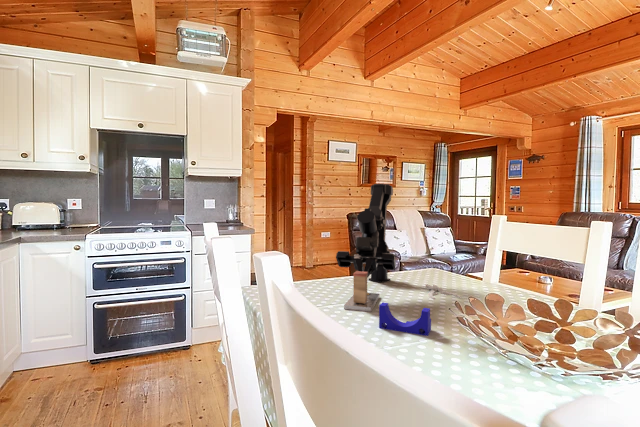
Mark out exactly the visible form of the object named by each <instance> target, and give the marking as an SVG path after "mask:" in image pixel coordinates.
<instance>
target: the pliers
mask: <svg viewBox="0 0 640 427" xmlns="http://www.w3.org/2000/svg"><path fill="white" fill-rule="evenodd" d="M425 288H426V289H427V290H428V291H429V292H428V293H427V295H428V297H429V298H431V299H433V300H436V297H434V296H436V295H438V293H440V295H441V294H442V295H447V296H448V295H449V296H453V297H456V298H458V299H462V297H461V296H460V295H459V294H457V293H453V292H451V291H445V290H443V289H442V287H439V286H437V285H436V284H432V285H429V284H427V283H426V284H425ZM435 292H436V293H435Z"/></svg>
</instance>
